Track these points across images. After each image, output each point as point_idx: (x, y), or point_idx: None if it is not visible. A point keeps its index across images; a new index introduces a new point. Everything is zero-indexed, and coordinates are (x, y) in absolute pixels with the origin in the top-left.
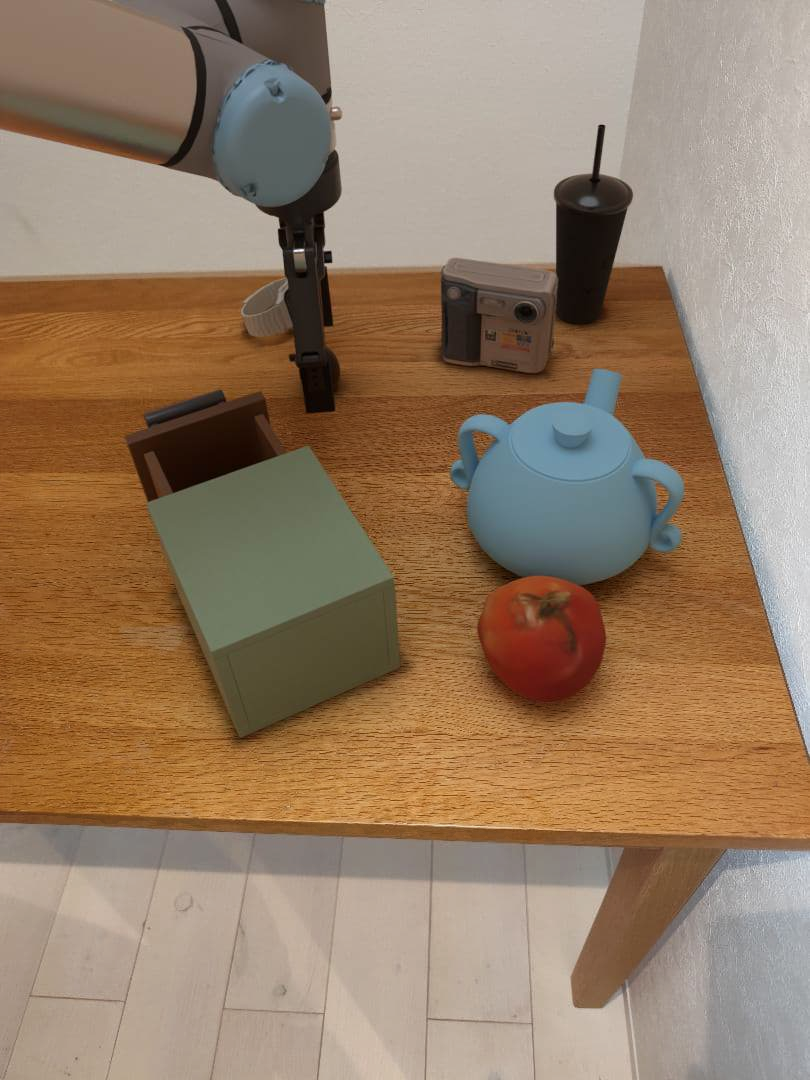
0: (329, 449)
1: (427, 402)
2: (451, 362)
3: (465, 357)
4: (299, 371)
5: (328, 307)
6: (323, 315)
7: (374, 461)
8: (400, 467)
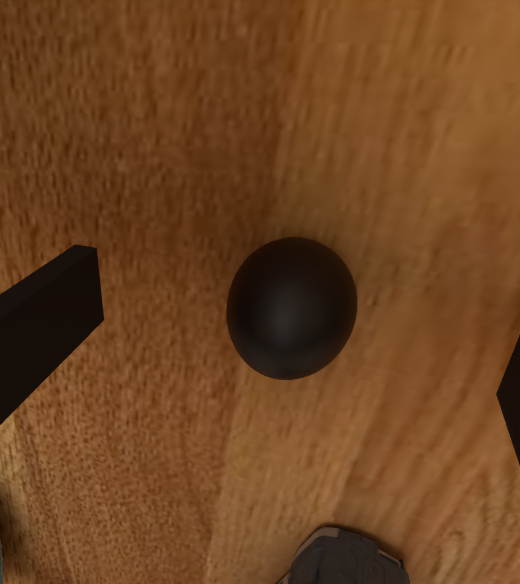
0: None
1: (203, 460)
2: (313, 535)
3: (295, 567)
4: (279, 253)
5: (517, 442)
6: (517, 401)
7: None
8: None
